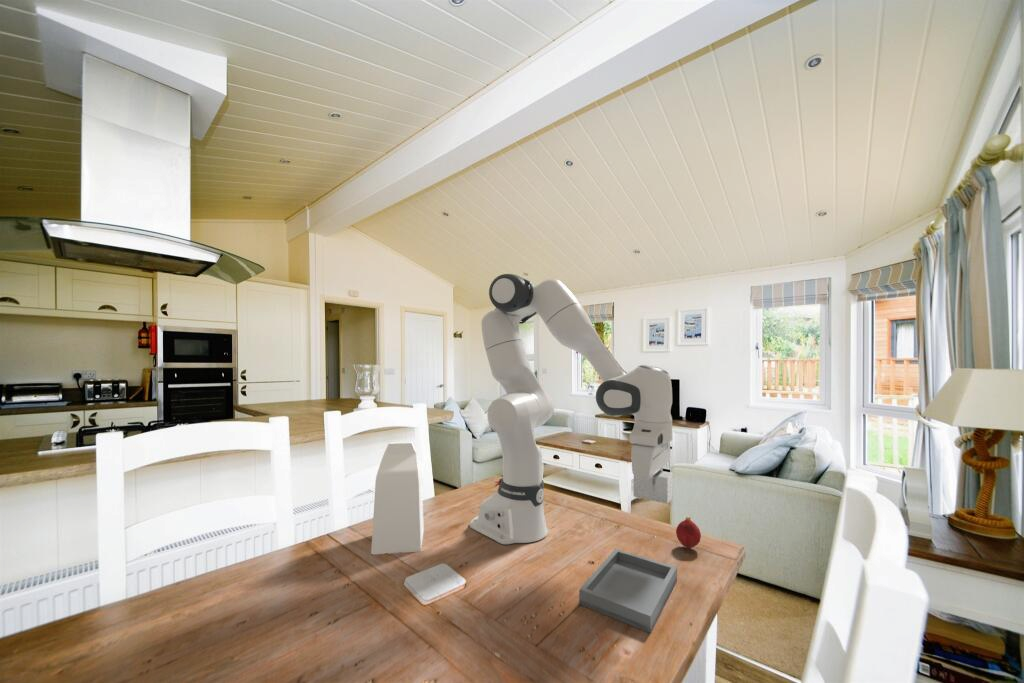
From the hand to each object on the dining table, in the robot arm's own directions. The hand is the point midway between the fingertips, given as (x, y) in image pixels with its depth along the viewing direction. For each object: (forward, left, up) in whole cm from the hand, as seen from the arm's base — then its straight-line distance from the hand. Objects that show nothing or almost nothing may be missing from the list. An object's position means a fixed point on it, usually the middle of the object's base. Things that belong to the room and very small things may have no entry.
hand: (652, 488), depth 98 cm
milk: (-57, -31, -17) cm, 67 cm away
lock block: (0, 0, -2) cm, 2 cm away
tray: (0, -17, -17) cm, 24 cm away
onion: (+6, +10, -17) cm, 21 cm away
